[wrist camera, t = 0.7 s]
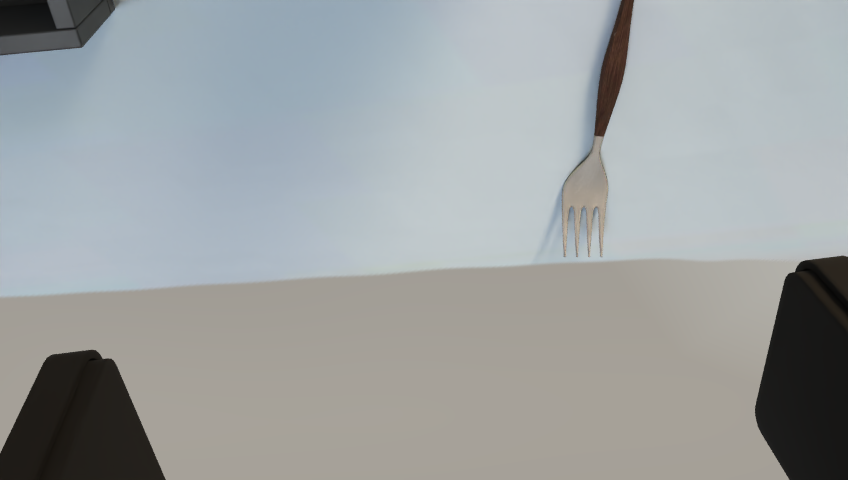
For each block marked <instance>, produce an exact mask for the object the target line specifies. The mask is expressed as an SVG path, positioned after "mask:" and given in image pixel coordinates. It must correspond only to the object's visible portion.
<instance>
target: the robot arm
mask: <svg viewBox="0 0 848 480" xmlns="http://www.w3.org/2000/svg"><path fill="white" fill-rule="evenodd" d="M755 416H756V421H757V424H758V427H759V430H760V431H761V433H762V435H763V437H764V438H765V440H766V441H767V443H768V445H769V447H770V448H771V450H772V452H773V453H774V455H775V456H776V458H777V460H778V462H779V463H780V465H781V466H782V468H783V470H784V471H785V473H786V475H787V476H788V478H789V480H848V257H846V256H837V257H829V258H821V259H813V260H806V261H803V262H801V263H800V264H799V265H798V266H797V268H796V271H795V272H793V273H789V274H788V275H787V277H786V279H785V281H784V286H783V290H782V294H781V298H780V302H779V307H778V311H777V315H776V320H775V324H774V329H773V333H772V337H771V341H770V345H769V350H768V354H767V358H766V363H765V367H764V371H763V376H762V380H761V384H760V388H759V393H758V397H757V401H756V406H755ZM0 480H165V477H164V475H163V473H162V470H161V468H160V466H159V463H158V461H157V459H156V456H155V454H154V452H153V449H152V447H151V445H150V442H149V440H148V438H147V436H146V433H145V431H144V428H143V426H142V424H141V421H140V419H139V417H138V415H137V412H136V410H135V408H134V405H133V403H132V400H131V398H130V396H129V393H128V391H127V389H126V387H125V384H124V382H123V380H122V377H121V375H120V372H119V370H118V368H117V366H116V364H115V362H114V361H113V360H112V359H102V357H101V355H100V354H99V353H98V352H97V351H96V350H86V351H78V352H70V353H62V354H54V355H51V356H49V357H48V358H47V359H46V360H45V362H44V363H43V365H42V367H41V369H40V371H39V374H38V376H37V378H36V380H35V382H34V384H33V386H32V388H31V390H30V392H29V395H28V397H27V399H26V401H25V403H24V405H23V407H22V409H21V411H20V413H19V415H18V417H17V419H16V422H15V424H14V426H13V428H12V430H11V432H10V434H9V436H8V438H7V440H6V443H5V445H4V447H3V449H2V451H1V453H0Z"/></svg>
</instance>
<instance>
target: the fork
mask: <svg viewBox="0 0 848 480" xmlns="http://www.w3.org/2000/svg"><path fill="white" fill-rule="evenodd" d="M633 2H634V0H622V1H621V5H620V8H619V12H618V15H617V19H616V22H615V25H614V29H613V32H612V35H611V38H610V41H609V44H608V48H607V51H606V54H605V58H604V61H603V65H602V69H601V74H600V81H599V89H598V99H597V110H596V122H595V133H594V142H593V147H592V151H591V153H590V155H589V156H588V157H587V159H586V160H585V161H584V162H583V163H582V164H581V165H580V166H579V167H577V168H576V169H575V170H574V171H573V172H572V173H571V175H570V176H569V177H568V179H567V180H566V182H565V184H564V187H563V191H562V226H563V247H564V257H566V241H567V226H568V214H569V209H570V207H573V209H574V220H575V244H576V257H578V244H579V229H580V216H581V210H582V208H583V207H585V209H586V216H587V243H588V257H590V246H591V230H592V217H593V210H594V208H595V207H597V208H598V214H599V242H600V257H602V247H603V231H604V217H605V207H606V201H607V193H608V183H607V177H606V174H605V171H604V169H603V166H602V164H601V161H600V156H599V153H600V147H601V144H602V140H603V137H604V134H605V131H606V129H607V126H608V123H609V120H610V117H611V114H612V111H613V108H614V106H615V103H616V100H617V97H618V94H619V90H620V87H621V84H622V80H623V76H624V71H625V65H626V58H627V50H628V41H629V33H630V24H631V17H632V9H633Z"/></svg>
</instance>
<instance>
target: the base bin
mask: <svg viewBox="0 0 848 480" xmlns="http://www.w3.org/2000/svg"><path fill="white" fill-rule="evenodd" d="M114 10H115V7H114V3H113V0H0V55H8V54H19V53H29V52H40V51H51V50H61V49H72V48H82V47H83V46H84V45H85V44H86V42H87V41H88V40H89V39H90V38H91V37H92V36H93V34H94V33H95V32H96V31H97V30H98V29H99V27H100V26H101V25H102V24H103V23H104V22H105V21H106V19H107V18H108V17H109V16H110V14H111V13H112V12H113V11H114Z"/></svg>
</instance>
